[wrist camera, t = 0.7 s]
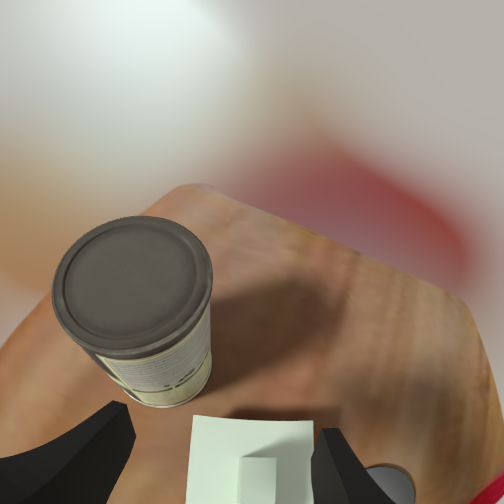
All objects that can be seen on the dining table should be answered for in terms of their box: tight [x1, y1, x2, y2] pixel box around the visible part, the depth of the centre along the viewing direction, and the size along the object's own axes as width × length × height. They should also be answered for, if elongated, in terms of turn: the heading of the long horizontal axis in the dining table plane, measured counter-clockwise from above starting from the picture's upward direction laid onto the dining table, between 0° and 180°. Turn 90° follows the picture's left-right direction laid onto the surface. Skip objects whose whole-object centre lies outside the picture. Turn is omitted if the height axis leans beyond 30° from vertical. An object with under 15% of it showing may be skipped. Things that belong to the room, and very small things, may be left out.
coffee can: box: [52, 216, 213, 408], centre depth 20 cm, size 10×10×14 cm
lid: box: [186, 415, 314, 504], centre depth 14 cm, size 13×10×4 cm
